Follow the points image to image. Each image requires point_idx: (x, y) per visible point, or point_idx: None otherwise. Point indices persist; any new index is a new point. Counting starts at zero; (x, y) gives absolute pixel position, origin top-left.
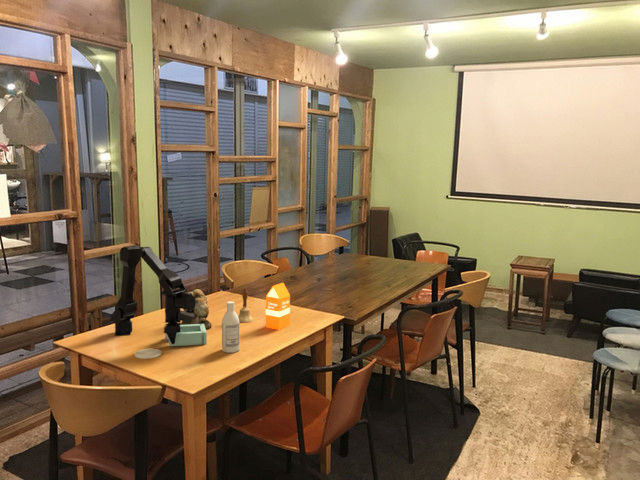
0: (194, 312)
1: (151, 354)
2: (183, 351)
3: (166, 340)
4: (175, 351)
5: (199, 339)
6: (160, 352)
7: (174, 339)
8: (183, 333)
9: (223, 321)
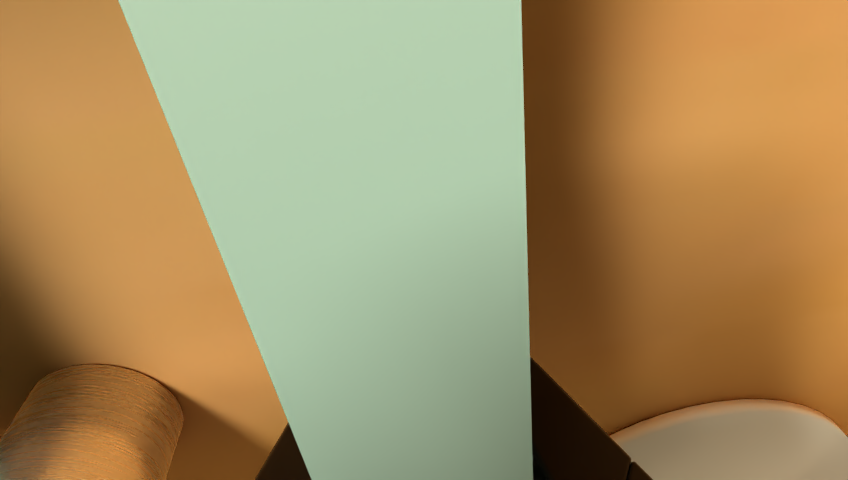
0: None
1: None
2: (816, 60)
3: (171, 457)
4: (732, 224)
5: None
6: (731, 421)
7: (575, 416)
8: (479, 332)
9: None
